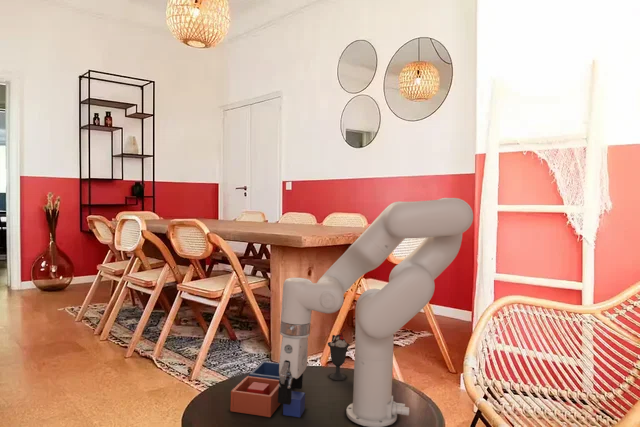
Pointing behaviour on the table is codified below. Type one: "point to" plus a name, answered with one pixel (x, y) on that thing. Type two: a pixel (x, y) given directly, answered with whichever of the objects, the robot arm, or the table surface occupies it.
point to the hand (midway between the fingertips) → (290, 395)
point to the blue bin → (267, 371)
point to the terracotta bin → (255, 397)
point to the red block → (258, 388)
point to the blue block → (295, 405)
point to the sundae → (338, 354)
